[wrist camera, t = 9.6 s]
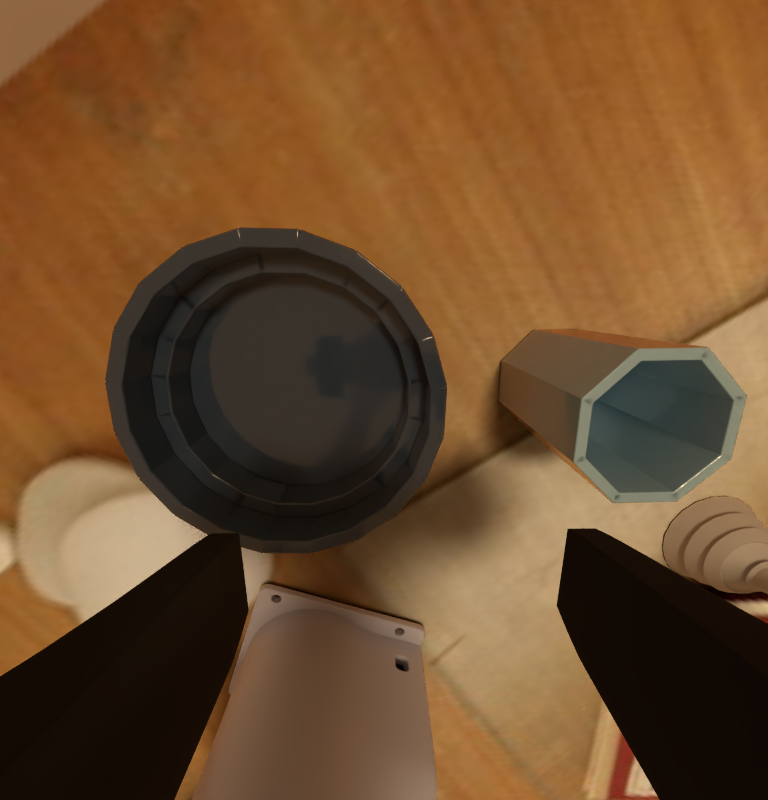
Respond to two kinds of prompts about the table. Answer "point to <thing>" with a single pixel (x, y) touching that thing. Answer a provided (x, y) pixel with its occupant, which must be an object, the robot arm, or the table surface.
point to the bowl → (276, 390)
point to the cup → (625, 409)
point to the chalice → (719, 545)
